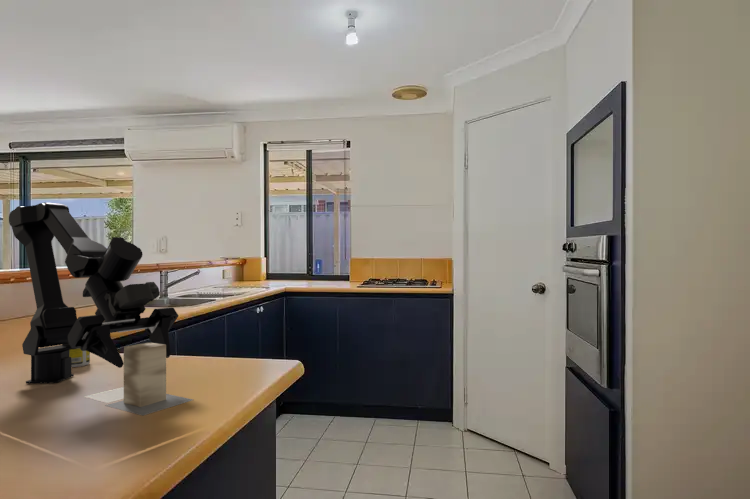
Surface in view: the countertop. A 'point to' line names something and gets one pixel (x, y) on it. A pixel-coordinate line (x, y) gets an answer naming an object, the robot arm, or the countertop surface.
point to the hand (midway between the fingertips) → (146, 361)
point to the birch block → (144, 374)
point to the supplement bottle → (79, 357)
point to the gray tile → (150, 405)
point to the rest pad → (108, 395)
